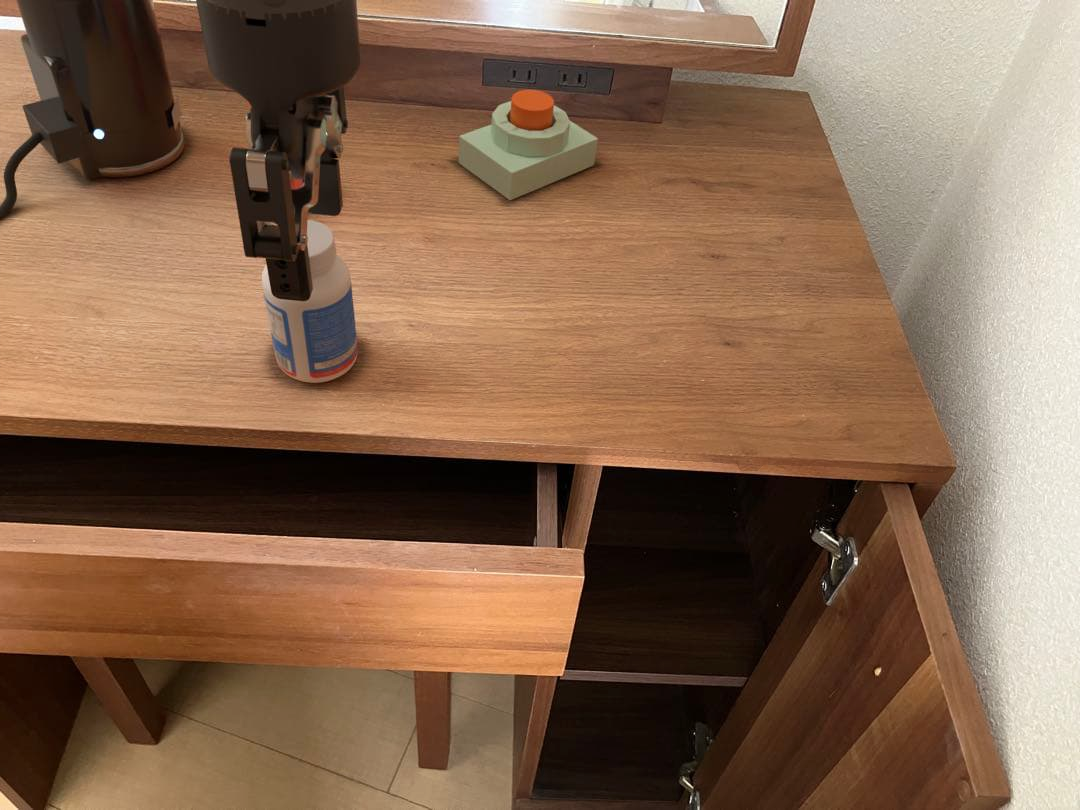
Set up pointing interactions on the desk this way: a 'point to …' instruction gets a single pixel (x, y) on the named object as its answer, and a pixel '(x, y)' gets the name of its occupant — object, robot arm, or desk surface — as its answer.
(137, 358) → the desk surface
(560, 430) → the desk surface
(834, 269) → the desk surface
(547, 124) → the orange cylinder plug
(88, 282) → the desk surface
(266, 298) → the pill bottle
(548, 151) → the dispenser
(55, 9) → the robot arm
